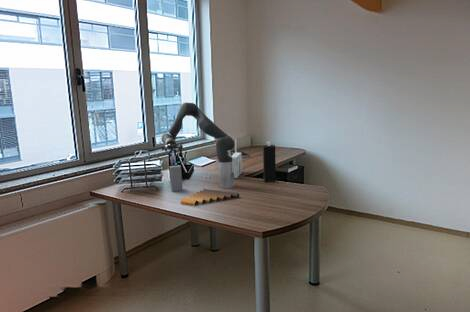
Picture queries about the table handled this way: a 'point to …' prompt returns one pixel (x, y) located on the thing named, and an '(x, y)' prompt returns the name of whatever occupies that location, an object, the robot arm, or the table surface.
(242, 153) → the wireless router
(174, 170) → the slate block
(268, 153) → the black bottle
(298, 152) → the table surface
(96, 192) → the table surface
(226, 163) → the robot arm
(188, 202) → the pan flute
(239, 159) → the skincare box
